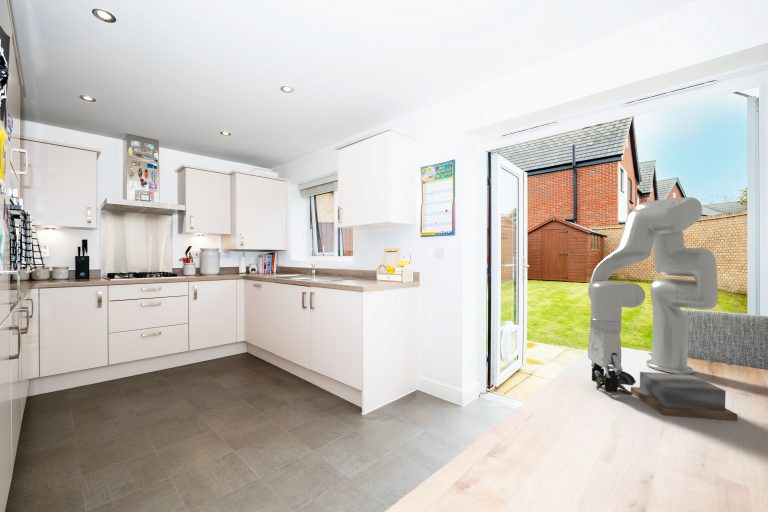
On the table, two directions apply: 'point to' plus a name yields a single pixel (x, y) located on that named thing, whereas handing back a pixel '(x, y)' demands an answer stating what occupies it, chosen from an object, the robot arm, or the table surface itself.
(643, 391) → the pedestal
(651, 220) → the robot arm
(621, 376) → the eagle figurine
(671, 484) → the table surface
